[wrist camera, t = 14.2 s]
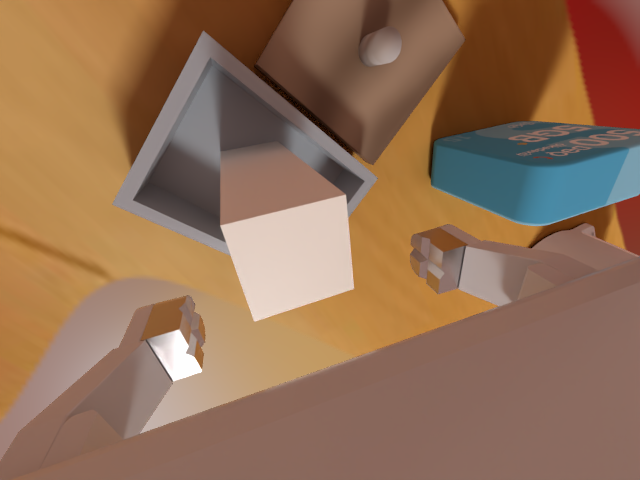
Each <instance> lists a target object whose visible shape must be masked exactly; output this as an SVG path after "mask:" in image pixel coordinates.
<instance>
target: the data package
mask: <svg viewBox="0 0 640 480" xmlns="http://www.w3.org/2000/svg"><path fill="white" fill-rule="evenodd" d="M431 185H432V187H434V188H436V189H438V190H440V191H443V192H445V193H447V194H450V195H452V196H454V197H457V198H459V199H461V200H464V201H466V202H468V203H471V204H473V205H475V206H478V207H480V208H483V209H485V210H487V211H490V212H492V213H494V214H497V215H499V216H501V217H504V218H506V219H508V220H511V221H513V222H516V223H519V224H523V225H530V226H544V225H549V224H553V223H556V222H559V221H562V220H565V219H568V218H571V217H574V216H577V215H580V214H583V213H586V212H589V211H592V210H595V209H598V208H601V207H604V206H607V205H610V204H613V203H616V202H619V201H622V200H625V199H628V198H631V197H634V196H637V195H639V194H640V129H628V128H616V127H603V126H590V125H577V124H564V123H551V122H538V121H520V122H513V123H508V124H503V125H499V126H494V127H490V128H485V129H481V130H476V131H472V132H467V133H462V134H458V135H453V136H449V137H444V138H440V139H438V140H436V141H435V142H434V149H433V161H432V174H431Z"/></svg>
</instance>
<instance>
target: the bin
mask: <svg viewBox="0 0 640 480" xmlns="http://www.w3.org/2000/svg"><path fill="white" fill-rule="evenodd" d="M274 141H278V142H279V143H280V144H282V145H283V146H284V147H286V148H287V149H288V150H289V151H291V152H292V153H293V154H295V155H296V156H297V157H298V158H300V159H301V160H302V161H303V162H305V163H306V164H307V165H309V166H310V167H311V168H312V169H314V170H315V171H316V172H318V173H319V174H320V175H321V176H323V177H324V178H325V179H327V180H328V181H329V182H330V183H332V184H333V185H334V186H336V187H337V188H338V189H339V190H341V191H342V192H343V193H345V194H346V200H347V212H348V217H349V216H350V215H351V213H352V212H353V211H354V209H355V208H356V207H357V205H358V204H359V203H360V201H361V200H362V199H363V197H364V196H365V195H366V193H367V192H368V191H369V190H370V188H371V187H372V186H373V184H374V183H375V182H376V180H377V179H378V178H377V177H376V176H375V175H374V174H372V173H371V172H370V171H369V170H368V169H367V168H365V167H364V166H363V165H362V164H361V163H359V162H358V161H357V160H356V159H355V158H354V157H352V156H351V155H350V154H349V153H348V152H346V151H345V150H344V149H343V148H342V147H340V146H339V145H338V144H337V143H336V142H335V141H333V140H332V139H331V138H330V137H329V136H327V135H326V134H325V133H324V132H323V131H322V130H320V129H319V128H318V127H317V126H316V125H314V124H313V123H312V122H311V121H310V120H309V119H307V118H306V117H305V116H304V115H303V114H301V113H300V112H299V111H298V110H297V109H296V108H294V107H293V106H292V105H291V104H290V103H288V102H287V101H286V100H285V99H284V98H283V97H281V96H280V95H279V94H278V93H277V92H275V91H274V90H273V89H272V88H271V87H270V86H268V85H267V84H266V83H265V82H264V81H262V80H261V79H260V78H259V77H258V76H257V75H255V74H254V73H253V72H252V71H251V70H249V69H248V68H247V67H246V66H245V65H244V64H242V63H241V62H240V61H239V60H238V59H236V58H235V57H234V56H233V55H232V54H230V53H229V52H228V51H227V50H226V49H225V48H223V47H222V46H221V45H220V44H219V43H217V42H216V41H215V40H214V39H213V38H212V37H210V36H209V35H208V34H207V33H206V32H204V31H203V32H202V34H201V36H200V38H199V40H198V42H197V43H196V45H195V47H194V49H193V51H192V53H191V55H190V57H189V59H188V61H187V63H186V64H185V66H184V68H183V70H182V72H181V74H180V76H179V78H178V80H177V82H176V84H175V85H174V87H173V89H172V91H171V93H170V95H169V97H168V99H167V101H166V103H165V104H164V106H163V108H162V110H161V112H160V114H159V116H158V118H157V120H156V122H155V124H154V125H153V127H152V129H151V131H150V133H149V135H148V137H147V139H146V141H145V143H144V145H143V146H142V148H141V150H140V152H139V154H138V156H137V158H136V160H135V162H134V164H133V165H132V167H131V169H130V171H129V173H128V175H127V177H126V179H125V181H124V183H123V185H122V186H121V188H120V190H119V192H118V194H117V196H116V198H115V200H114V202H113V204H112V205H115V206H117V207H119V208H121V209H124V210H126V211H128V212H131V213H133V214H135V215H138V216H140V217H142V218H145V219H147V220H149V221H152V222H154V223H156V224H158V225H161V226H163V227H165V228H168V229H170V230H172V231H175V232H177V233H179V234H182V235H184V236H186V237H188V238H191V239H193V240H195V241H198V242H200V243H202V244H205V245H207V246H209V247H212V248H214V249H216V250H219V251H221V252H223V253H225V254H228V255H230V252H229V249H228V246H227V243H226V240H225V238H224V235H223V232H222V229H221V226H220V152H221V151H226V150H232V149H237V148H242V147H247V146H253V145H258V144H263V143H268V142H274ZM230 256H231V255H230Z"/></svg>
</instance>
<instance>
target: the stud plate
mask: <svg viewBox="0 0 640 480" xmlns="http://www.w3.org/2000/svg"><path fill="white" fill-rule="evenodd" d="M465 40H466V39H465V38H464V36H463V34H462V33H461V31H460V29H459V28H458V26H457V24H456V23H455V21H454V19H453V18H452V16H451V14H450V13H449V11H448V9H447V8H446V6H445V4H444V2H443V1H442V0H293V1H292V2H291V4H290V6H289V7H288V9H287V11H286V13H285V14H284V16H283V18H282V19H281V21H280V23H279V25H278V26H277V28H276V30H275V31H274V33H273V35H272V37H271V38H270V40H269V42H268V43H267V45H266V47H265V49H264V50H263V52H262V54H261V56H260V57H259V59H258V61H257V62H256V64H255V67H256V68H257V69H258V70H260V71H261V72H262V73H263V74H264V75H265V76H267V77H268V78H269V79H270V80H271V81H272V82H274V83H275V84H276V85H277V86H278V87H279V88H280V89H282V90H283V91H284V92H285V93H286V94H287V95H289V96H290V97H291V98H292V99H293V100H294V101H296V102H297V103H298V104H299V105H300V106H301V107H303V108H304V109H305V110H306V111H307V112H308V113H309V114H311V115H312V116H313V117H314V118H315V119H316V120H318V121H319V122H320V123H321V124H322V125H323V126H325V127H326V128H327V129H328V130H329V131H330V132H332V133H333V134H334V135H335V136H336V137H337V138H338V139H340V140H341V141H342V142H343V143H344V144H345V145H347V146H348V147H349V148H350V149H351V150H352V151H354V152H355V153H356V154H357V155H358V156H359V157H361V158H362V159H363V160H364V161H365V162H367V163H369V164H372V165H373V164H374V163H375V162H376V160H377V159H378V158H379V156H380V155H381V154H382V152H383V151H384V150H385V148H386V147H387V145H388V144H389V143H390V141H391V140H392V139H393V137H394V136H395V135H396V133H397V132H398V131H399V129H400V128H401V127H402V125H403V124H404V122H405V121H406V120H407V118H408V117H409V116H410V114H411V113H412V112H413V110H414V109H415V108H416V106H417V105H418V104H419V102H420V101H421V99H422V98H423V97H424V95H425V94H426V93H427V91H428V90H429V89H430V87H431V86H432V85H433V83H434V82H435V81H436V79H437V78H438V76H439V75H440V74H441V72H442V71H443V70H444V68H445V67H446V66H447V64H448V63H449V62H450V60H451V59H452V58H453V56H454V55H455V53H456V52H457V51H458V49H459V48H460V47H461V45H462V44H463V43H464V41H465Z"/></svg>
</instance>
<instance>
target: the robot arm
mask: <svg viewBox="0 0 640 480" xmlns="http://www.w3.org/2000/svg"><path fill="white" fill-rule="evenodd" d="M411 245H412V247H413V248H414V249H413V251H412V252H411V254H410V263H411V266H412V269H413V270H414V272H415V273H416V274H417V275H418V276H419V277H422V278H425V279H426V284H428V285H429V286H430V287H431V288H432V289H433V290H434V291H435V292H436V293H437V294H440V293H444V292H447V291H451V290H454V289H457V288H459V290H462V291H464V292H466V293H469V294H471V295H474V296H476V297H478V298H481V299H483V300H486V301H488V302H490V303H493V304H495V305H498V306H499V307H496V308H493V309H490V310H487V311H485V312H482V313H479V314H476V315H473V316H471V317H468V318H465V319H462V320H459V321H456V322H454V323H451V324H448V325H445V326H442V327H439V328H437V329H434V330H431V331H428V332H425V333H422V334H420V335H417V336H414V337H411V338H408V339H405V340H403V341H400V342H397V343H394V344H391V345H389V346H386V347H383V348H380V349H377V350H375V351H372V352H369V353H366V354H363V355H360V356H358V357H355V358H352V359H349V360H346V361H344V362H341V363H338V364H335V365H332V366H330V367H327V368H324V369H321V370H318V371H316V372H313V373H310V374H307V375H305V376H301V377H299V378H296V379H293V380H291V381H287V382H285V383H282V384H279V385H276V386H273V387H271V388H268V389H265V390H262V391H259V392H257V393H254V394H251V395H248V396H245V397H242V398H240V399H237V400H234V401H231V402H228V403H226V404H223V405H220V406H217V407H214V408H211V409H209V410H206V411H203V412H200V413H197V414H195V415H192V416H189V417H186V418H183V419H181V420H178V421H175V422H172V423H169V424H166V425H164V426H161V427H158V428H155V429H152V430H150V431H147V432H144V433H141V434H140V432H141V431H142V429H143V428H144V426H145V425H146V423H147V422H148V420H149V419H150V417H151V416H152V414H153V412H154V411H155V410H156V408H157V406H158V405H159V403H160V402H161V400H162V399H163V397H164V395H165V394H166V393H167V391H168V390H169V388H170V387H171V385H172V384H173V383H172V382H173V381H176V380H179V379H182V378H185V377H187V376H190V375H193V374H196V373H199V372H202V364H203V356H204V353H203V351H202V349H201V347H202V345H203V344H204V343H205V327H204V324H203V320H202V318H201V316H200V315H199V314H197V313H196V312H194V309H195V303H194V301H193V299H192V297H190V296H189V295H187V296H183V297H179V298H175V299H172V300H167V301H163V302H159V303H156V304H152V305H148V306H144V307H141V308H139V309H137V310H136V311H135V313H134V315H133V317H132V319H131V322H130V324H129V326H128V328H127V330H126V333H125V335H124V337H123V339H122V341H121V344H120V346H119V348H117V349H113V350H112V351H111V352H109V353H108V354H107V355H106V356H105V357H104V358H103V359H102V360H100V361H99V362H98V363H97V364H96V365H95V366H94V367H92V368H91V369H90V370H89V371H88V372H87V373H85V374H84V375H83V376H82V377H81V378H80V379H79V380H77V381H76V382H75V383H74V384H73V385H72V386H71V387H69V388H68V389H67V390H66V391H65V392H64V393H63V394H62V395H60V396H59V397H58V398H57V399H56V400H55V401H54V402H52V403H51V404H50V405H49V406H48V407H47V408H46V409H44V410H43V411H42V412H41V413H40V414H39V415H38V416H36V417H35V418H34V419H33V420H32V421H31V422H30V423H28V424H27V425H26V426H25V427H24V428H23V429H22V430H20V431H19V432H18V434H17V436H16V437H15V439H14V440H13V442H12V443H11V445H10V447H9V448H8V450H7V451H6V453H5V454H4V456H3V457H2V459H1V461H0V480H640V256H638V255H636V254H633V253H631V252H629V251H627V250H624V249H622V248H620V247H617V246H615V245H613V244H610V243H608V242H606V241H603V240H601V239H599V238H596V236H595V228H594V226H592V225H590V224H588V223H584V224H582V225H579V226H578V227H576V228H574V229H572V230H565V231H560V232H556V233H554V234H552V235H550V236H548V237H546V238H545V239H543V240H542V241H540V242H539V243H537V244H536V245H535V246H534V247H533V248H532V249H531V248H526V247H520V246H514V245H509V244H503V243H497V242H492V241H486V240H485V241H480V240H478V239H476V238H475V237H473V236H471V235H469V234H467V233H466V232H464V231H462V230H460V229H458V228H457V227H455V226H453V225H449V224H447V225H443V226H440V227H437V228H434V229H431V230H428V231H424V232H421V233H417V234H414V235H413V236H412V238H411Z"/></svg>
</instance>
